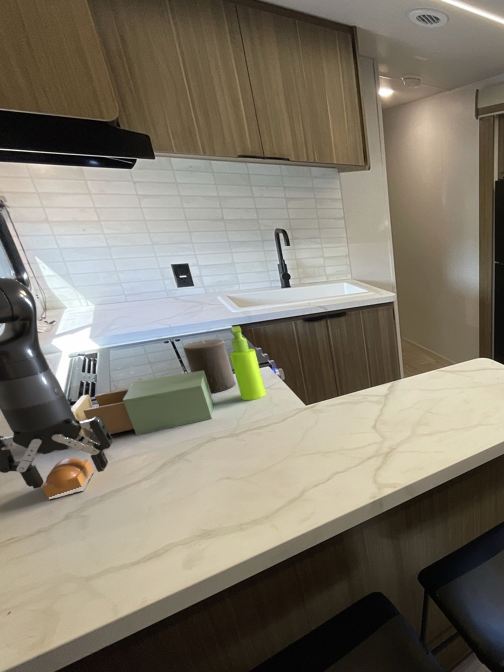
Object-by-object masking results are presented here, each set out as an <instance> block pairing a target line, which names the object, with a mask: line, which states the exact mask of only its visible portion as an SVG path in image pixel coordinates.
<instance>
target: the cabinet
mask: <svg viewBox="0 0 504 672" xmlns="http://www.w3.org/2000/svg"><path fill="white" fill-rule="evenodd" d="M128 389H129V390H128V392H127V394H126V395H125V397H124V399H123V402H124V405H125V408H126V410H127V413H128V415H129V418H130V420H131V423H132V425H133V428H134V429H133V431H134V432H135V435H136V436H141V435H144V434H148V433H153V432H157V431H162V430H166V429H171V428H175V427H180V426H185V425H189V424H193V423H198V422H202V421H207V420H211V419H213V411H214V410H213V409H214V399H213V396H212V393H211V392H210V389H209V386H208V382H207V379H206V376H205V373H204V370H203V371H197V372H191V371H190V372H187V373H181V374H175V375H168V376H163V377H162V376H161V377H157V378H152V379H144V380H140V381H133V383H132V384H131V385H130V387H129V388H128Z"/></svg>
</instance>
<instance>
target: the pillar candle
mask: <svg viewBox="0 0 504 672" xmlns="http://www.w3.org/2000/svg"><path fill="white" fill-rule="evenodd" d="M183 351H184V354H185V357H186V360H187V363H188V367H189V369H190V373H191V372H197V371H203V370H204V373H205V376H206V379H207V382H208V386H209V389H210V392H211V394H213V393H219V392H225V391H227V390H229V389H231V388H233V387H235V385H236V384H237V383H236V382H237V381H236V378H235V377H234V371H233V368H232V365H231V363H230V358H229V356H228V352H227V348H226V344H225V342H224V340H223V339H220V338H214V339H213V338H212V339H203V338H201V340H198V341H193V342H189V343H187V344H184V345H183Z"/></svg>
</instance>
